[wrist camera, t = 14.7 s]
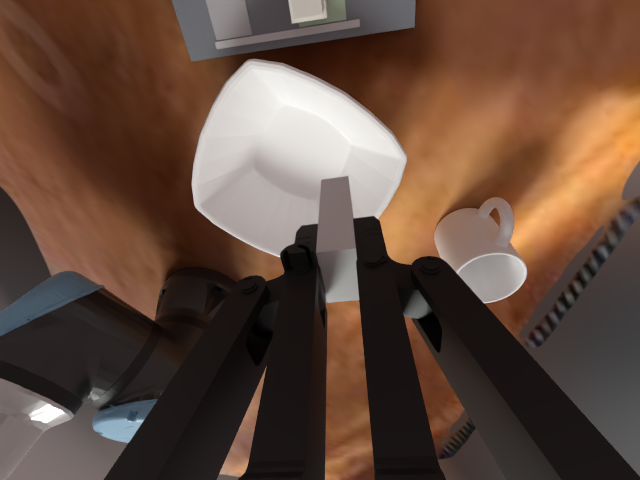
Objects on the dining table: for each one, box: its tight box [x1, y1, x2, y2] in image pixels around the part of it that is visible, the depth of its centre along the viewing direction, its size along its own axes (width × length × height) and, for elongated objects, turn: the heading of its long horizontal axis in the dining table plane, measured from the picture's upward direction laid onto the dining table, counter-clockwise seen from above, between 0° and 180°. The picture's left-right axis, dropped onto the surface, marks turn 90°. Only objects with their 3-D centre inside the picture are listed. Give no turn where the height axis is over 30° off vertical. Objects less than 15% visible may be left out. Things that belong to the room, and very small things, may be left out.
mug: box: [434, 197, 527, 303], centre depth 40 cm, size 12×8×10 cm
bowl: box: [191, 59, 407, 257], centre depth 36 cm, size 21×21×9 cm
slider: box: [288, 0, 328, 24], centre depth 27 cm, size 3×2×3 cm
